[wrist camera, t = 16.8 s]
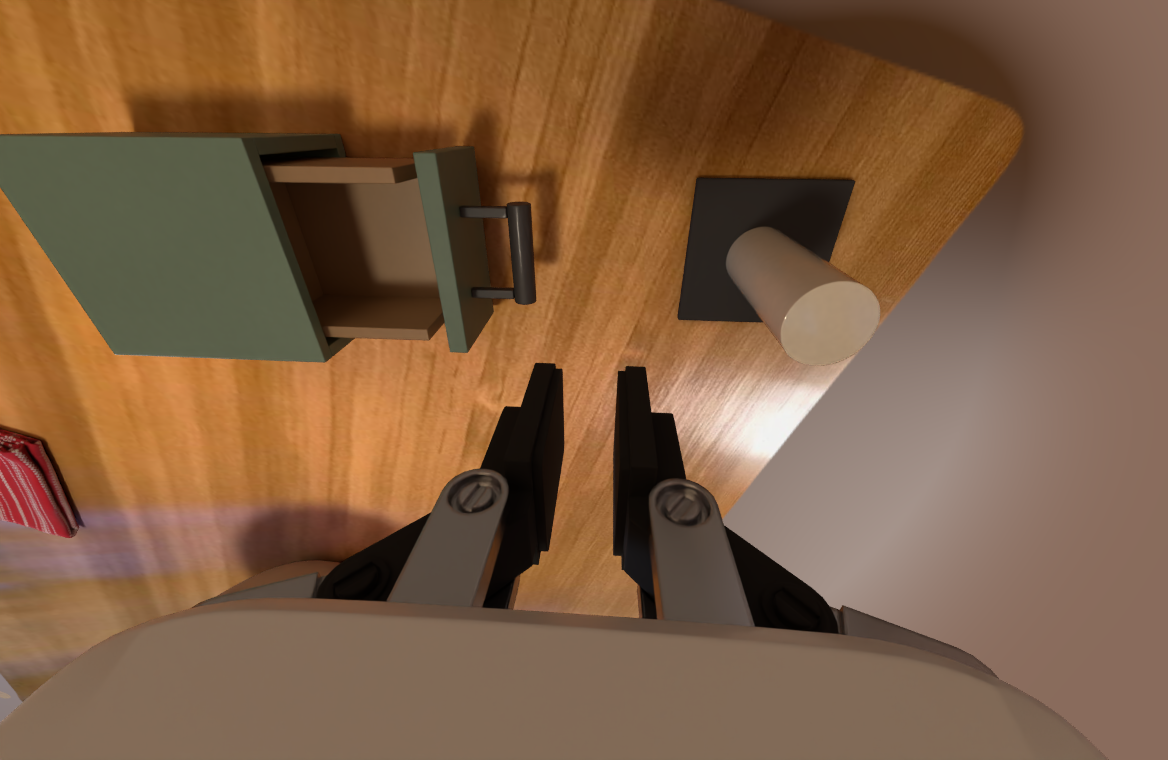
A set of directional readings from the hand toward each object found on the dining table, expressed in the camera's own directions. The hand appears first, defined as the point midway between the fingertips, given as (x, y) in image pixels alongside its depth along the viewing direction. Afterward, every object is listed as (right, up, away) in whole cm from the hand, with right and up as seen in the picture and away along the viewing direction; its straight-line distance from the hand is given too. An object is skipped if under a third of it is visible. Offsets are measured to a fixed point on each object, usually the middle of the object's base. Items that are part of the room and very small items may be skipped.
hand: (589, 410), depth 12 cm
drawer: (-12, +11, +18) cm, 24 cm away
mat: (+12, +10, +18) cm, 24 cm away
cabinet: (-24, +12, +19) cm, 33 cm away
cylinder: (+12, +9, +17) cm, 23 cm away
